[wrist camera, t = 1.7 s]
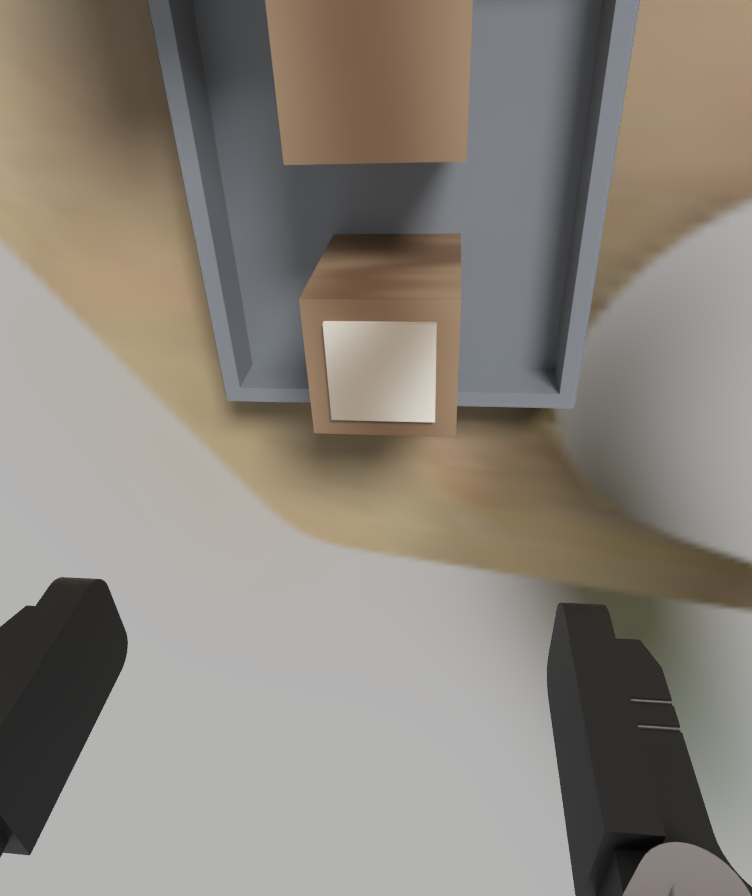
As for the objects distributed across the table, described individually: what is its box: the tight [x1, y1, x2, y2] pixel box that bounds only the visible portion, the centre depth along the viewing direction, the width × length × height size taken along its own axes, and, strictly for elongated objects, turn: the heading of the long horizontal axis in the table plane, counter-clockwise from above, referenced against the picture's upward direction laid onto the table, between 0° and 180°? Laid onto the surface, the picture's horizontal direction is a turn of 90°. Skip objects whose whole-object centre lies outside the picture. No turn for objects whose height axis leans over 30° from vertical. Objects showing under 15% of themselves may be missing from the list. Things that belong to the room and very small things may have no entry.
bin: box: [148, 0, 640, 409], centre depth 21 cm, size 13×15×2 cm
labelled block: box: [299, 233, 461, 437], centre depth 21 cm, size 4×4×6 cm
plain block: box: [265, 0, 473, 165], centre depth 17 cm, size 4×4×6 cm
